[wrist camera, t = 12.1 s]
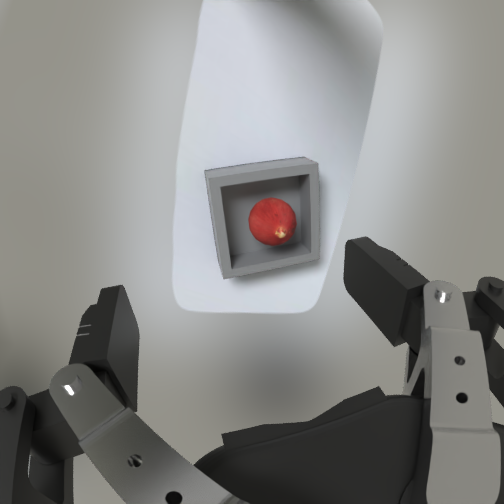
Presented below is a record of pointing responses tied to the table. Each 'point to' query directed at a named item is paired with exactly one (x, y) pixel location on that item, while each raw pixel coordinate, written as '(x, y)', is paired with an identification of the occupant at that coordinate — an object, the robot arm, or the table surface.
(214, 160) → the table surface
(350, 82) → the table surface
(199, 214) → the table surface
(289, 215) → the pomegranate
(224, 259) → the box
